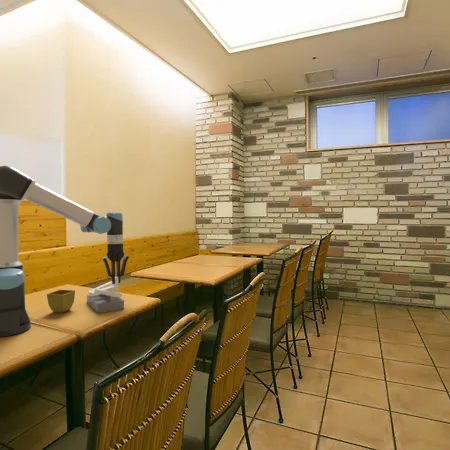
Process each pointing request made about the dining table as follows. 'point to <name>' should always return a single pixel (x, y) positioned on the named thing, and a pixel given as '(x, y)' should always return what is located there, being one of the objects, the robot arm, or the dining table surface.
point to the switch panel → (105, 303)
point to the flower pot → (61, 300)
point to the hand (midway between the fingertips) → (116, 290)
